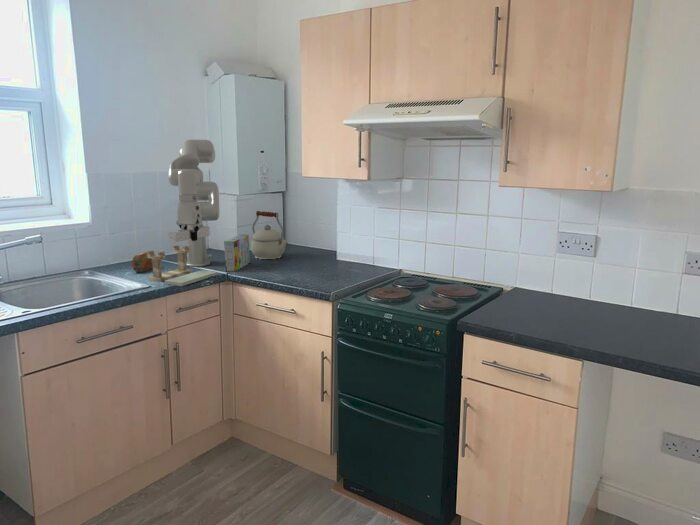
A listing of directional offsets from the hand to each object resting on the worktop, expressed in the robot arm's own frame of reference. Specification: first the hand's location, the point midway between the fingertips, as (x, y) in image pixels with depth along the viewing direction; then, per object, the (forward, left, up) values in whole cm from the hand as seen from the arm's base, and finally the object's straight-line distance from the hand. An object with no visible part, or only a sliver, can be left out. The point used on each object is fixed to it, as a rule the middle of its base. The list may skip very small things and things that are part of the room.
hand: (190, 239), depth 240 cm
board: (0, 0, -18) cm, 18 cm away
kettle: (-59, +3, -18) cm, 62 cm away
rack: (0, -13, -18) cm, 22 cm away
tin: (-5, -34, -18) cm, 39 cm away
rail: (0, 0, +1) cm, 1 cm away
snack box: (-31, +2, -18) cm, 36 cm away
